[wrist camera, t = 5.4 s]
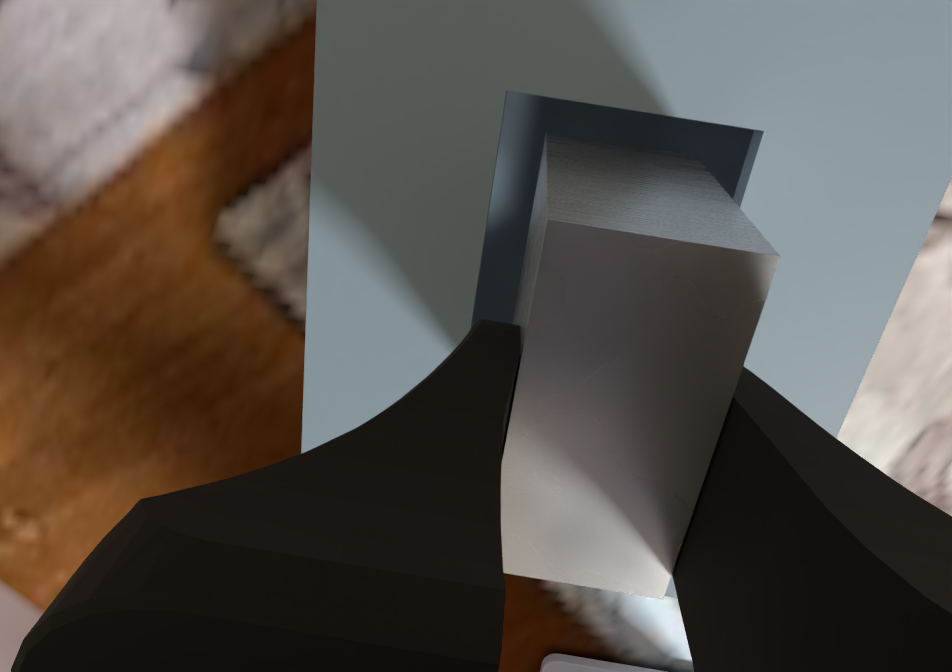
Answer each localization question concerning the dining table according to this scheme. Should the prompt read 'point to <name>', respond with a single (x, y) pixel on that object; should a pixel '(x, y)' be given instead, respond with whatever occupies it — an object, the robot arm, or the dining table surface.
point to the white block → (623, 360)
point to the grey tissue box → (626, 121)
